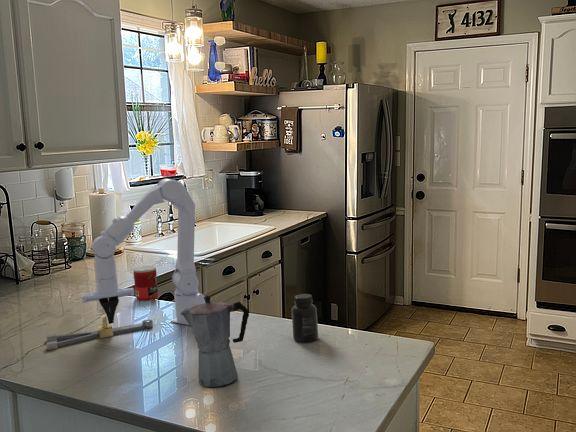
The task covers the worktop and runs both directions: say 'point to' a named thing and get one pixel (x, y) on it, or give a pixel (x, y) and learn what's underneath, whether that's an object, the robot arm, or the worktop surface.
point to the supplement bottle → (304, 319)
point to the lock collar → (105, 328)
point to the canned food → (145, 283)
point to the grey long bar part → (92, 335)
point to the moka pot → (215, 340)
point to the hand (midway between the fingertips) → (111, 322)
